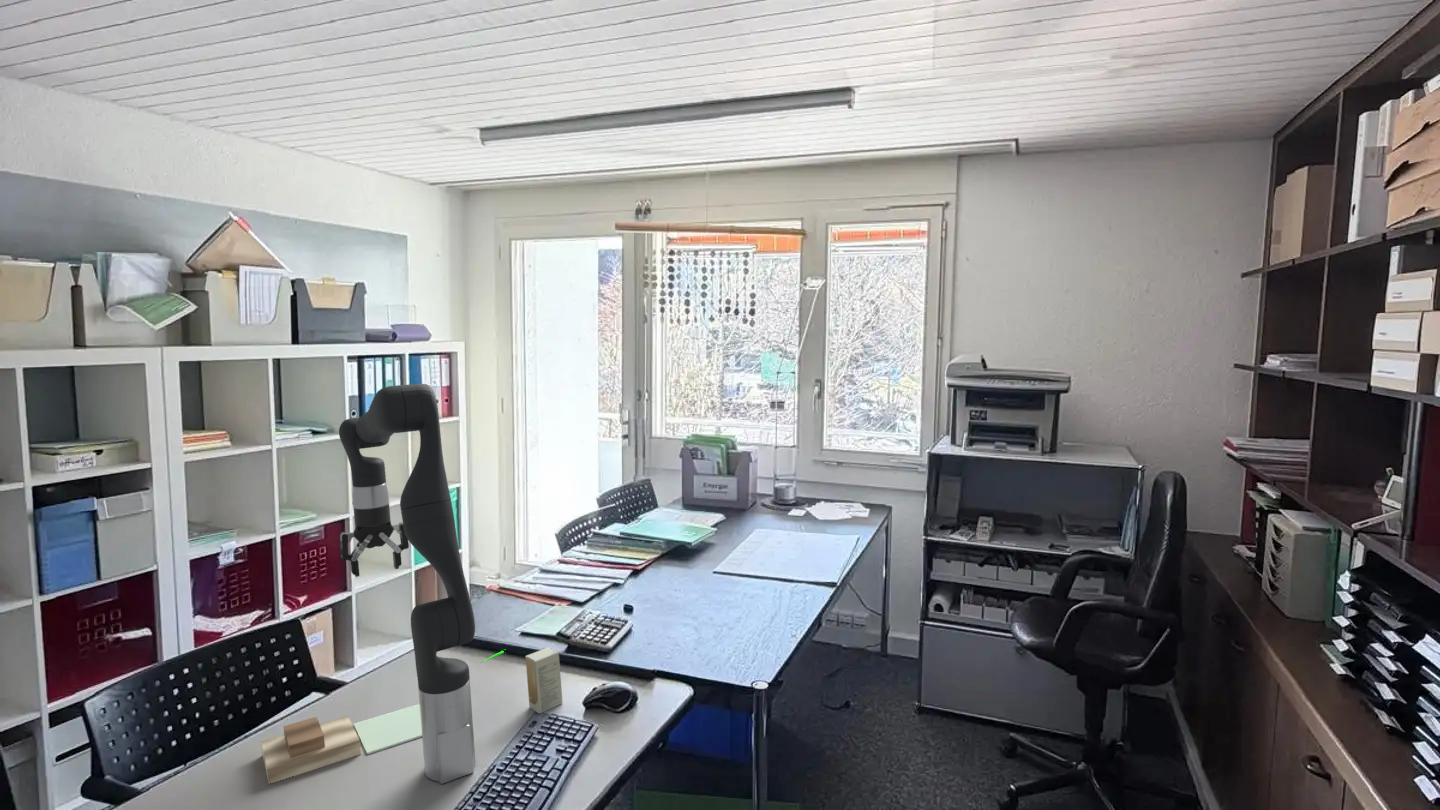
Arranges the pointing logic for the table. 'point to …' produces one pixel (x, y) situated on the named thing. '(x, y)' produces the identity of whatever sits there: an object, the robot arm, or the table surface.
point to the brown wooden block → (303, 737)
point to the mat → (390, 729)
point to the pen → (495, 655)
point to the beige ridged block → (337, 748)
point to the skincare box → (544, 679)
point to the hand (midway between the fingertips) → (377, 571)
